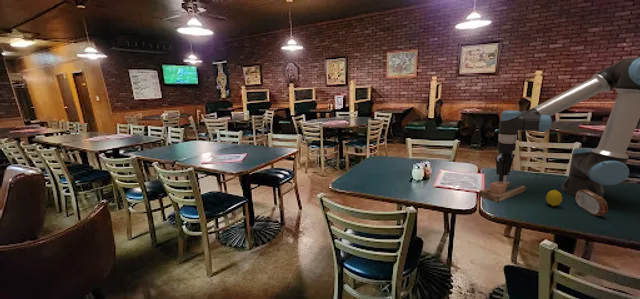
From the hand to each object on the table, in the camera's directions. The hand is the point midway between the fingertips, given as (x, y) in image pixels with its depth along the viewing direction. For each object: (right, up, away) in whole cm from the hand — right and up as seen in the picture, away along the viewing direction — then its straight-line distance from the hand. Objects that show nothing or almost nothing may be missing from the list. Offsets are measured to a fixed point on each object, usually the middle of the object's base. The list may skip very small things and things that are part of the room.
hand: (501, 186), depth 137 cm
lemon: (+14, -7, -14) cm, 21 cm away
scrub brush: (+25, -8, -20) cm, 33 cm away
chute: (+2, -4, +1) cm, 4 cm away
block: (-3, -4, -1) cm, 5 cm away
